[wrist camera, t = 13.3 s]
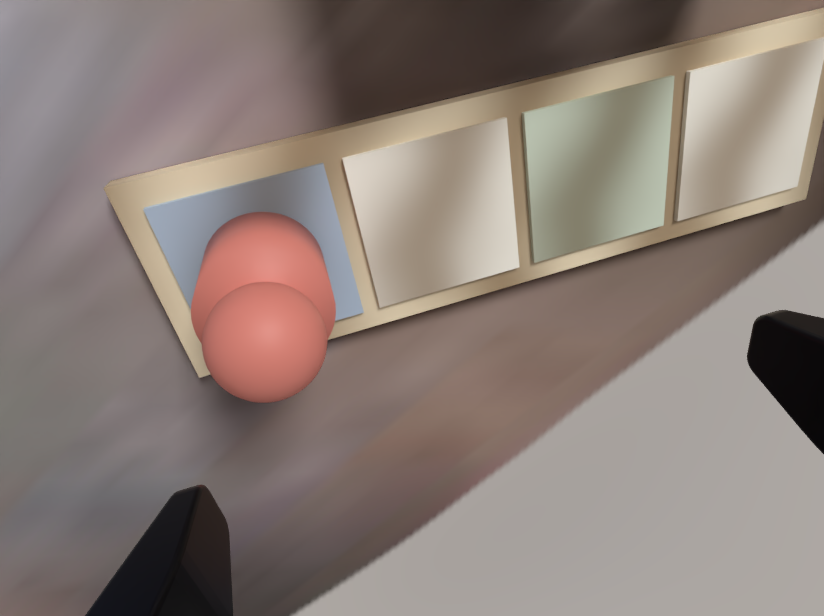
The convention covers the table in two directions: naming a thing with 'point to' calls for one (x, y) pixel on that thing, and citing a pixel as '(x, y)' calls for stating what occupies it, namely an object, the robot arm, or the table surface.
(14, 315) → the table surface
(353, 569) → the table surface
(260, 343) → the pawn
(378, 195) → the board
